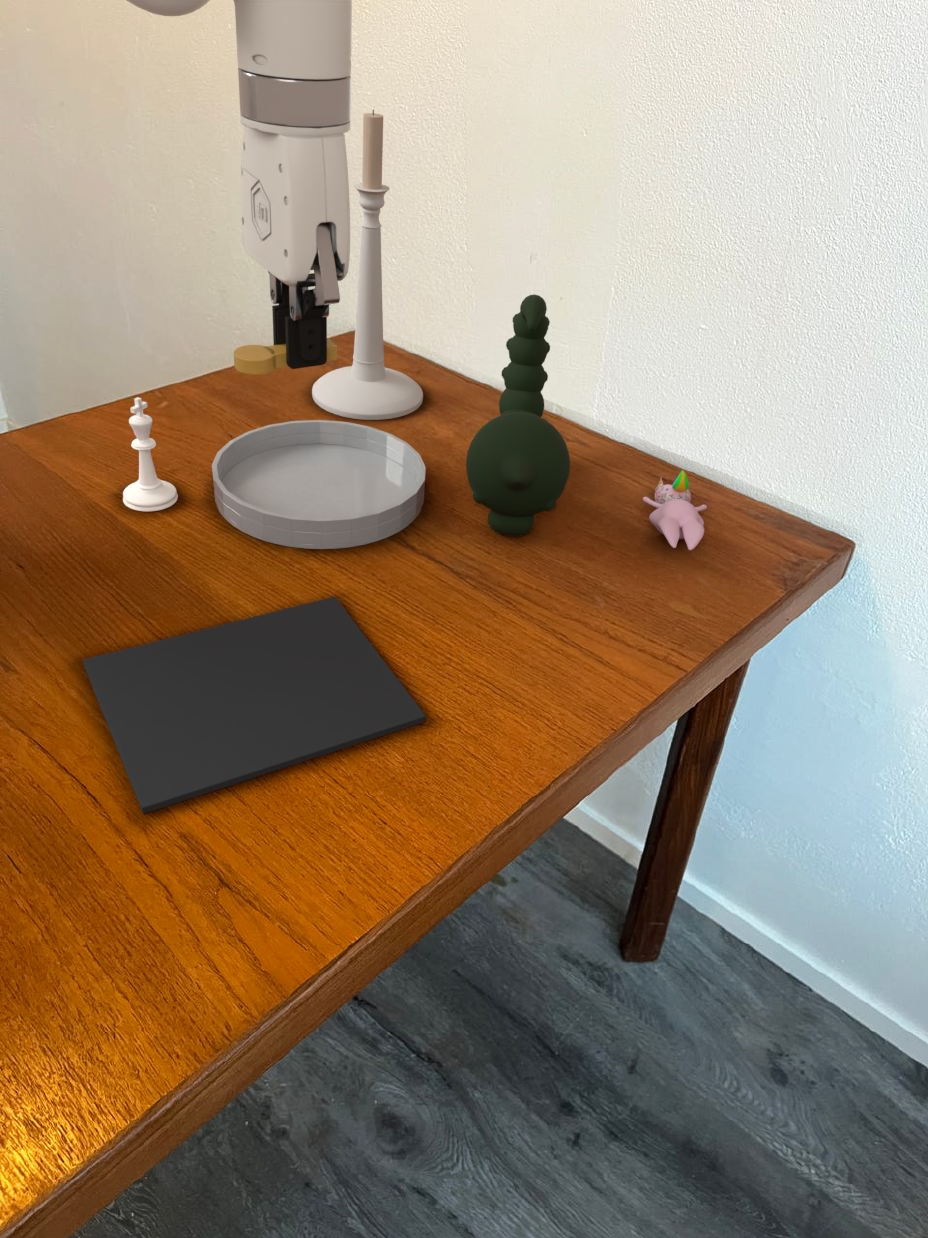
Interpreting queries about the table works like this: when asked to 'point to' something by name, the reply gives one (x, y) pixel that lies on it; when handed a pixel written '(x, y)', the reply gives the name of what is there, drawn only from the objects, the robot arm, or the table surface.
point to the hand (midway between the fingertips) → (300, 357)
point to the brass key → (268, 358)
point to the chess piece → (146, 468)
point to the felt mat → (245, 700)
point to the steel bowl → (318, 484)
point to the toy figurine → (520, 435)
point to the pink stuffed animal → (677, 513)
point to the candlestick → (369, 313)
